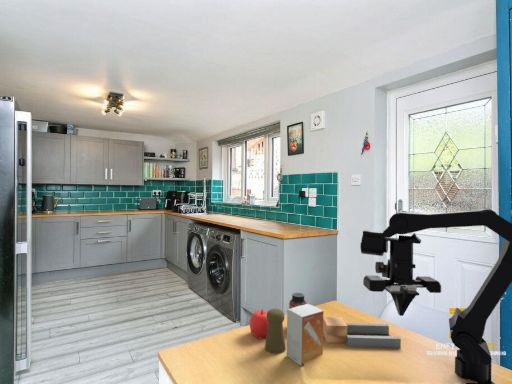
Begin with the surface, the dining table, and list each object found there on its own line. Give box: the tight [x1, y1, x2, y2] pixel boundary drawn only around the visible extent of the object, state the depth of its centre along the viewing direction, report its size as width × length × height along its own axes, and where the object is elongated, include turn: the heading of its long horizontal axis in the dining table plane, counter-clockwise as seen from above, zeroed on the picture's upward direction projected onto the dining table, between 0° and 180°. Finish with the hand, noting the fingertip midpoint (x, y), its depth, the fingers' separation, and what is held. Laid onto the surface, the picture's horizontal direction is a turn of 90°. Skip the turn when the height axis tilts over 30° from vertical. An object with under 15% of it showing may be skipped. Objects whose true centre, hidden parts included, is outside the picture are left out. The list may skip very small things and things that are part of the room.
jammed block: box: [323, 316, 348, 344], centre depth 90 cm, size 6×6×5 cm
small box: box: [286, 303, 324, 367], centre depth 81 cm, size 8×6×13 cm
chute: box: [345, 322, 402, 349], centre depth 89 cm, size 15×10×4 cm, turn 88°
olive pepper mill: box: [264, 308, 287, 355], centre depth 85 cm, size 6×6×11 cm
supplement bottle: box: [288, 292, 308, 309], centre depth 98 cm, size 6×6×11 cm
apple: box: [248, 309, 269, 339], centre depth 93 cm, size 8×8×8 cm
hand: (400, 315), depth 80 cm, fingers closed
